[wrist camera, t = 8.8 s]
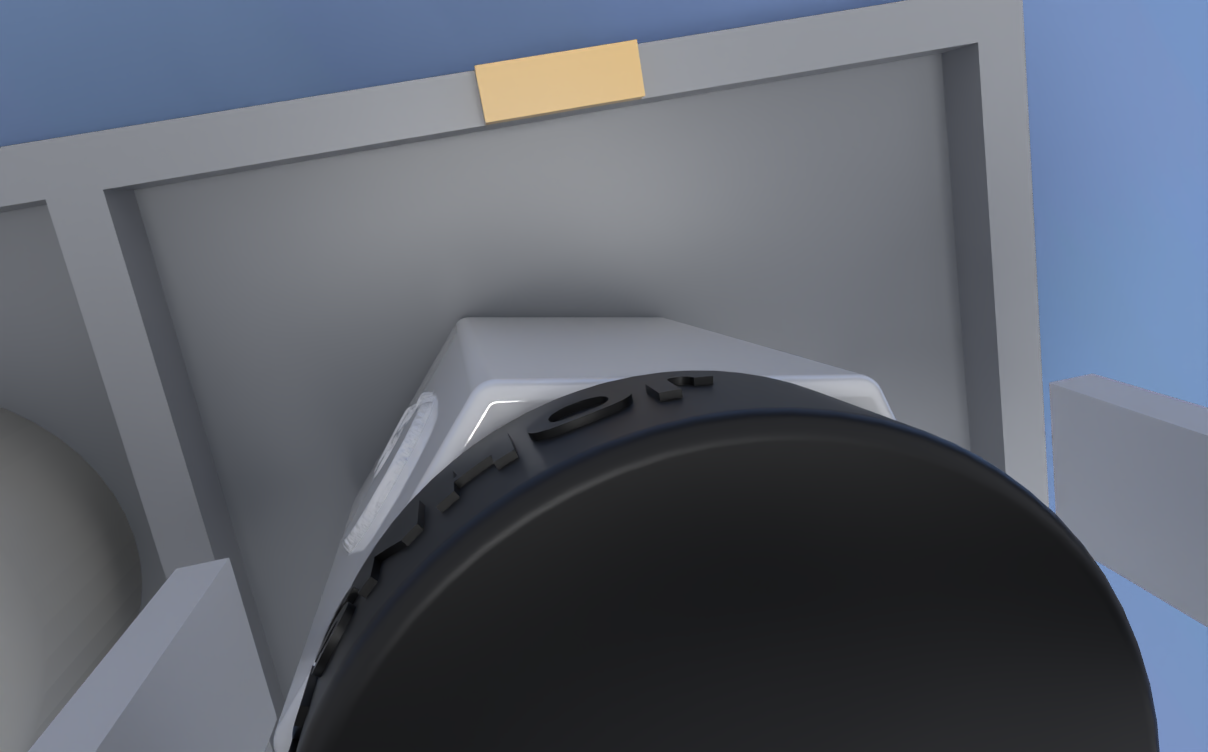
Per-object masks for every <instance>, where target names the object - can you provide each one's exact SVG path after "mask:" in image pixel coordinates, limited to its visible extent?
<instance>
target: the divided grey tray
mask: <svg viewBox="0 0 1208 752" xmlns="http://www.w3.org/2000/svg"><path fill="white" fill-rule="evenodd" d="M466 317H664V318H668V319H672V320H675V321H679V322H682V323H686V324H689V325H693V326H696V327H700V328H703V329H707V330H710V331H714V332H717V333H721V334H724V335H728V336H731V337H735V338H738V339H742V340H745V341H749V342H752V343H756V344H759V345H763V346H766V347H770V348H773V349H777V350H780V351H784V352H787V353H791V354H794V355H798V356H801V357H805V358H808V359H812V360H815V361H819V362H822V363H826V364H829V365H833V366H836V367H839V368H843V369H846V370H850V371H853V372H857V373H860V374H864V375H867V376H869V377H871V378H872V379H873V380H874V381H876V382H877V383H878V384H879V386H880V387H881V389H882V391H883V393H884V395H885V397H886V399H887V401H888V404H889V406H890V408H891V410H892V412H893V414H894V416H895V418H896V420H897V421H899V422H902V423H904V424H907V425H910V426H913V427H915V428H918V429H921V430H923V431H926V432H928V433H931V434H933V435H936V436H938V437H940V438H943V439H945V440H948V441H950V442H952V443H955V444H956V445H958V446H960V447H962V448H964V449H966V450H968V451H970V452H972V453H974V454H976V455H978V456H980V457H981V458H983V459H984V460H986V461H988V462H989V463H991V464H992V465H994V466H996V467H997V468H999V469H1000V470H1002V471H1003V472H1005V473H1006V474H1008V475H1009V476H1010V477H1012V478H1013V479H1014V480H1016V481H1017V482H1018V483H1020V484H1021V485H1022V486H1024V487H1025V488H1026V489H1028V490H1029V491H1030V492H1031V493H1033V494H1034V495H1035V496H1036V497H1037V498H1038V499H1039V500H1040V501H1041V502H1043V503H1044V504H1045V505H1046V506H1047V507H1048V508H1049V500H1048V481H1047V461H1046V442H1045V423H1044V404H1043V385H1042V365H1041V346H1040V327H1039V308H1038V289H1037V270H1036V250H1035V231H1034V212H1033V193H1032V174H1031V155H1030V135H1029V116H1028V97H1027V78H1026V59H1025V39H1024V20H1023V1H1022V0H906V1H900V2H894V3H887V4H881V5H875V6H869V7H863V8H857V9H850V10H844V11H838V12H832V13H826V14H819V15H813V16H807V17H801V18H795V19H789V20H782V21H776V22H770V23H764V24H758V25H751V26H745V27H739V28H733V29H727V30H721V31H714V32H708V33H702V34H696V35H690V36H683V37H677V38H671V39H665V40H659V41H653V42H646V43H640V44H637V39H636V40H630V41H624V42H618V43H612V44H605V45H599V46H593V47H587V48H581V49H574V50H568V51H562V52H556V53H550V54H543V55H537V56H531V57H525V58H518V59H512V60H506V61H500V62H494V63H487V64H481V65H475V70H473V71H467V72H461V73H455V74H448V75H442V76H436V77H430V78H424V79H418V80H411V81H405V82H399V83H393V84H387V85H380V86H374V87H368V88H362V89H356V90H350V91H343V92H337V93H331V94H325V95H319V96H312V97H306V98H300V99H294V100H288V101H282V102H275V103H269V104H263V105H257V106H251V107H244V108H238V109H232V110H226V111H220V112H214V113H207V114H201V115H195V116H189V117H183V118H176V119H170V120H164V121H158V122H152V123H146V124H139V125H133V126H127V127H121V128H115V129H108V130H102V131H96V132H90V133H84V134H78V135H71V136H65V137H59V138H53V139H47V140H40V141H34V142H28V143H22V144H16V145H10V146H3V147H0V408H3V409H6V410H8V411H11V412H13V413H15V414H17V415H19V416H21V417H23V418H25V419H27V420H30V421H32V422H34V423H36V424H37V425H39V426H40V427H42V428H44V429H45V430H47V431H48V432H50V433H52V434H53V435H55V436H56V437H58V438H59V439H61V440H62V441H63V442H64V443H66V444H67V445H68V446H69V447H71V448H72V449H73V450H74V451H76V452H77V453H78V454H79V455H80V456H81V457H82V458H83V459H84V460H85V461H86V462H87V463H88V464H89V465H90V466H91V467H92V468H93V469H94V470H95V471H96V472H97V473H98V474H99V476H100V477H101V478H102V480H103V481H104V482H105V483H106V485H107V486H108V487H109V489H110V490H111V491H112V493H113V494H114V496H115V498H116V499H117V501H118V503H119V505H120V506H121V508H122V510H123V512H124V513H125V515H126V518H127V520H128V523H129V525H130V528H131V530H132V532H133V535H134V538H135V542H136V546H137V550H138V554H139V558H140V567H141V577H142V590H141V605H140V610H139V614H140V613H141V611H142V610H143V609H144V608H145V606H146V605H147V604H148V603H149V602H150V600H151V599H152V598H153V597H154V595H155V594H156V593H157V592H158V590H159V589H160V588H161V587H162V585H163V584H164V583H165V582H166V581H167V579H168V578H169V577H170V576H171V574H172V573H173V572H174V571H175V569H178V568H182V567H187V566H192V565H196V564H201V563H206V562H210V561H215V560H220V559H224V558H229V559H230V562H231V565H232V569H233V572H234V575H235V579H236V582H237V586H238V589H239V592H240V596H241V599H242V602H243V606H244V609H245V612H246V616H247V619H248V622H249V626H250V629H251V633H252V636H253V639H254V643H255V646H256V649H257V653H258V656H259V659H260V663H261V666H262V669H263V673H264V676H265V680H266V683H267V686H268V690H269V693H270V696H271V700H272V703H273V706H274V710H275V713H276V716H277V721H276V723H275V726H274V729H273V731H272V734H271V736H270V739H269V742H268V744H267V747H266V749H265V752H275V751H274V744H273V740H274V734H275V730H276V728H277V725H278V722H279V719H280V716H281V713H282V710H283V707H284V704H285V701H286V698H287V696H288V693H289V690H290V687H291V684H292V681H293V678H294V675H295V672H296V669H297V666H298V663H299V661H300V658H301V655H302V652H303V649H304V646H305V643H306V640H307V637H308V634H309V631H310V628H311V626H312V623H313V620H314V617H315V614H316V611H317V608H318V605H319V602H320V599H321V596H322V593H323V591H324V588H325V585H326V582H327V579H328V576H329V573H330V570H331V567H332V564H333V561H334V558H335V556H336V553H337V550H338V547H339V544H340V541H341V538H342V535H343V532H344V529H345V526H346V523H347V521H348V518H349V515H350V512H351V509H352V506H353V503H354V500H355V498H356V496H357V494H358V492H359V491H360V489H361V487H362V485H363V484H364V482H365V480H366V479H367V477H368V475H369V473H370V472H371V470H372V468H373V466H374V465H375V463H376V461H377V459H378V458H379V456H380V454H381V453H382V451H383V449H384V447H385V446H386V444H387V442H388V440H389V439H390V437H391V435H392V433H393V432H394V430H395V428H396V426H397V424H398V423H399V421H400V419H401V417H402V416H403V414H404V412H405V411H406V409H407V407H408V406H409V404H410V402H411V401H412V399H413V397H414V395H415V394H416V392H417V390H418V388H419V387H420V385H421V383H422V381H423V380H424V378H425V376H426V374H427V373H428V371H429V369H430V368H431V366H432V364H433V362H434V361H435V359H436V357H437V355H438V354H439V352H440V350H441V348H442V347H443V345H444V343H445V342H446V340H447V338H448V336H449V335H450V333H451V331H452V329H453V328H454V326H455V324H456V323H457V322H458V321H459V320H460V319H463V318H466Z"/></svg>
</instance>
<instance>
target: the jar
mask: <svg viewBox="0 0 1208 752" xmlns="http://www.w3.org/2000/svg"><path fill="white" fill-rule="evenodd" d="M273 744H274V751H275V752H1160V751H1159V740H1158V728H1157V719H1156V714H1155V708H1154V703H1153V698H1152V692H1151V687H1150V683H1149V679H1148V676H1147V673H1146V669H1145V666H1144V663H1143V659H1142V656H1141V652H1140V649H1139V646H1138V643H1137V641H1136V638H1135V636H1134V633H1133V631H1132V629H1131V626H1130V624H1129V621H1128V619H1127V617H1126V614H1125V612H1124V609H1123V607H1122V605H1121V604H1120V602H1119V600H1118V598H1117V596H1116V595H1115V593H1114V591H1113V589H1112V587H1111V586H1110V584H1109V582H1108V580H1107V578H1106V576H1105V575H1104V573H1103V572H1102V571H1101V569H1100V568H1099V566H1098V565H1097V563H1096V562H1095V561H1094V559H1093V558H1092V556H1091V555H1090V554H1089V552H1088V551H1087V549H1086V548H1085V546H1084V545H1083V544H1082V543H1081V542H1080V540H1079V539H1078V538H1077V537H1076V536H1075V535H1074V534H1073V533H1072V531H1071V530H1070V529H1069V528H1068V527H1067V526H1066V525H1065V524H1064V522H1063V521H1062V520H1061V519H1060V518H1059V517H1058V516H1057V515H1056V514H1055V513H1054V512H1053V511H1052V510H1050V509H1049V508H1048V507H1047V506H1046V505H1045V504H1044V503H1043V502H1041V501H1040V500H1039V499H1038V498H1037V497H1036V496H1035V495H1034V494H1033V493H1031V492H1030V491H1029V490H1028V489H1026V488H1025V487H1024V486H1022V485H1021V484H1020V483H1018V482H1017V481H1016V480H1014V479H1013V478H1012V477H1010V476H1009V475H1008V474H1006V473H1005V472H1003V471H1002V470H1000V469H999V468H997V467H996V466H994V465H992V464H991V463H989V462H988V461H986V460H984V459H983V458H981V457H980V456H978V455H976V454H974V453H972V452H970V451H968V450H966V449H964V448H962V447H960V446H958V445H956V444H955V443H952V442H950V441H948V440H945V439H943V438H940V437H938V436H936V435H933V434H931V433H928V432H926V431H923V430H921V429H918V428H915V427H913V426H910V425H907V424H904V423H902V422H899V421H897V420H896V418H895V416H894V414H893V412H892V410H891V408H890V406H889V404H888V401H887V399H886V397H885V395H884V393H883V391H882V389H881V387H880V386H879V384H878V383H877V382H876V381H874V380H873V379H872V378H871V377H869V376H867V375H864V374H860V373H857V372H853V371H850V370H846V369H843V368H839V367H836V366H833V365H829V364H826V363H822V362H819V361H815V360H812V359H808V358H805V357H801V356H798V355H794V354H791V353H787V352H784V351H780V350H777V349H773V348H770V347H766V346H763V345H759V344H756V343H752V342H749V341H745V340H742V339H738V338H735V337H731V336H728V335H724V334H721V333H717V332H714V331H710V330H707V329H703V328H700V327H696V326H693V325H689V324H686V323H682V322H679V321H675V320H672V319H668V318H664V317H466V318H463V319H460V320H459V321H458V322H457V323H456V324H455V326H454V328H453V329H452V331H451V333H450V335H449V336H448V338H447V340H446V342H445V343H444V345H443V347H442V348H441V350H440V352H439V354H438V355H437V357H436V359H435V361H434V362H433V364H432V366H431V368H430V369H429V371H428V373H427V374H426V376H425V378H424V380H423V381H422V383H421V385H420V387H419V388H418V390H417V392H416V394H415V395H414V397H413V399H412V401H411V402H410V404H409V406H408V407H407V409H406V411H405V412H404V414H403V416H402V417H401V419H400V421H399V423H398V424H397V426H396V428H395V430H394V432H393V433H392V435H391V437H390V439H389V440H388V442H387V444H386V446H385V447H384V449H383V451H382V453H381V454H380V456H379V458H378V459H377V461H376V463H375V465H374V466H373V468H372V470H371V472H370V473H369V475H368V477H367V479H366V480H365V482H364V484H363V485H362V487H361V489H360V491H359V492H358V494H357V496H356V498H355V500H354V503H353V506H352V509H351V512H350V515H349V518H348V521H347V523H346V526H345V529H344V532H343V535H342V538H341V541H340V544H339V547H338V550H337V553H336V556H335V558H334V561H333V564H332V567H331V570H330V573H329V576H328V579H327V582H326V585H325V588H324V591H323V593H322V596H321V599H320V602H319V605H318V608H317V611H316V614H315V617H314V620H313V623H312V626H311V628H310V631H309V634H308V637H307V640H306V643H305V646H304V649H303V652H302V655H301V658H300V661H299V663H298V666H297V669H296V672H295V675H294V678H293V681H292V684H291V687H290V690H289V693H288V696H287V698H286V701H285V704H284V707H283V710H282V713H281V716H280V719H279V722H278V725H277V728H276V730H275V734H274V740H273Z"/></svg>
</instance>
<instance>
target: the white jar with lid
mask: <svg viewBox="0 0 1208 752" xmlns="http://www.w3.org/2000/svg"><path fill="white" fill-rule="evenodd" d="M141 590H142V577H141V567H140V558H139V554H138V550H137V546H136V542H135V538H134V535H133V532H132V530H131V528H130V525H129V523H128V520H127V518H126V515H125V513H124V512H123V510H122V508H121V506H120V505H119V503H118V501H117V499H116V498H115V496H114V494H113V493H112V491H111V490H110V489H109V487H108V486H107V485H106V483H105V482H104V481H103V480H102V478H101V477H100V476H99V474H98V473H97V472H96V471H95V470H94V469H93V468H92V467H91V466H90V465H89V464H88V463H87V462H86V461H85V460H84V459H83V458H82V457H81V456H80V455H79V454H78V453H77V452H76V451H74V450H73V449H72V448H71V447H69V446H68V445H67V444H66V443H64V442H63V441H62V440H61V439H59V438H58V437H56V436H55V435H53V434H52V433H50V432H48V431H47V430H45V429H44V428H42V427H40V426H39V425H37V424H36V423H34V422H32V421H30V420H27V419H25V418H23V417H21V416H19V415H17V414H15V413H13V412H11V411H8V410H6V409H3V408H0V752H28V751H29V750H30V748H31V747H32V746H33V745H34V743H35V742H36V741H37V740H38V738H39V737H40V736H41V735H42V734H43V732H44V731H45V730H46V729H47V727H48V726H49V725H50V724H51V722H52V721H53V720H54V719H55V717H56V716H57V715H58V714H59V713H60V711H61V710H62V709H63V708H64V706H65V705H66V704H67V703H68V701H69V700H70V699H71V698H72V697H73V695H74V694H75V693H76V692H77V690H78V689H79V688H80V687H81V685H82V684H83V683H84V682H85V680H86V679H87V678H88V677H89V676H90V674H91V673H92V672H93V671H94V669H95V668H96V667H97V666H98V664H99V663H100V662H101V661H102V659H103V658H104V657H105V656H106V655H107V653H108V652H109V651H110V650H111V648H112V647H113V646H114V645H115V643H116V642H117V641H118V640H119V639H120V637H121V636H122V635H123V634H124V632H125V631H126V630H127V629H128V627H129V626H130V625H131V624H132V622H133V621H134V620H135V619H136V618H137V616H138V615H139V610H140V605H141Z"/></svg>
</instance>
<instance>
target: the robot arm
mask: <svg viewBox="0 0 1208 752" xmlns="http://www.w3.org/2000/svg"><path fill="white" fill-rule="evenodd" d="M1049 387H1050V407H1051V427H1052V447H1053V466H1054V486H1055V506H1056V515H1057V516H1058V517H1059V518H1060V519H1061V520H1062V521H1063V522H1064V524H1065V525H1066V526H1067V527H1068V528H1069V529H1070V530H1071V531H1072V533H1073V534H1074V535H1075V536H1076V537H1077V538H1078V539H1079V540H1080V542H1081V543H1082V544H1083V545H1084V546H1085V548H1086V549H1087V551H1088V552H1089V554H1090V555H1091V556H1092V558H1093V559H1094V560H1096V561H1097V562H1099V563H1101V564H1102V565H1104V566H1106V567H1107V568H1109V569H1111V570H1112V571H1114V572H1116V573H1117V574H1119V575H1121V576H1123V577H1124V578H1126V579H1128V580H1129V581H1131V582H1133V583H1134V584H1136V585H1138V586H1139V587H1141V588H1143V589H1144V590H1146V591H1148V592H1149V593H1151V594H1153V595H1154V596H1156V597H1158V598H1159V599H1161V600H1163V601H1164V602H1166V603H1168V604H1169V605H1171V606H1173V607H1174V608H1176V609H1178V610H1179V611H1181V612H1183V613H1184V614H1186V615H1188V616H1189V617H1191V618H1193V619H1194V620H1196V621H1198V622H1199V623H1201V624H1203V625H1204V626H1206V627H1208V408H1207V407H1204V406H1200V405H1197V404H1194V403H1190V402H1187V401H1183V400H1180V399H1177V398H1173V397H1170V396H1167V395H1163V394H1160V393H1156V392H1153V391H1150V390H1146V389H1143V388H1139V387H1136V386H1133V385H1129V384H1126V383H1123V382H1119V381H1116V380H1112V379H1109V378H1106V377H1102V376H1099V375H1095V374H1088V375H1084V376H1079V377H1074V378H1069V379H1065V380H1060V381H1055V382H1051V383H1049ZM276 721H277V716H276V713H275V710H274V706H273V703H272V700H271V696H270V693H269V690H268V686H267V683H266V680H265V676H264V673H263V669H262V666H261V663H260V659H259V656H258V653H257V649H256V646H255V643H254V639H253V636H252V633H251V629H250V626H249V622H248V619H247V616H246V612H245V609H244V606H243V602H242V599H241V596H240V592H239V589H238V586H237V582H236V579H235V575H234V572H233V569H232V565H231V562H230V559H229V558H224V559H220V560H215V561H210V562H206V563H201V564H196V565H192V566H187V567H182V568H178V569H175V571H174V572H173V573H172V574H171V576H170V577H169V578H168V579H167V581H166V582H165V583H164V584H163V585H162V587H161V588H160V589H159V590H158V592H157V593H156V594H155V595H154V597H153V598H152V599H151V600H150V602H149V603H148V604H147V605H146V606H145V608H144V609H143V610H142V611H141V613H140V614H139V615H138V616H137V618H136V619H135V620H134V621H133V622H132V624H131V625H130V626H129V627H128V629H127V630H126V631H125V632H124V634H123V635H122V636H121V637H120V639H119V640H118V641H117V642H116V643H115V645H114V646H113V647H112V648H111V650H110V651H109V652H108V653H107V655H106V656H105V657H104V658H103V659H102V661H101V662H100V663H99V664H98V666H97V667H96V668H95V669H94V671H93V672H92V673H91V674H90V676H89V677H88V678H87V679H86V680H85V682H84V683H83V684H82V685H81V687H80V688H79V689H78V690H77V692H76V693H75V694H74V695H73V697H72V698H71V699H70V700H69V701H68V703H67V704H66V705H65V706H64V708H63V709H62V710H61V711H60V713H59V714H58V715H57V716H56V717H55V719H54V720H53V721H52V722H51V724H50V725H49V726H48V727H47V729H46V730H45V731H44V732H43V734H42V735H41V736H40V737H39V738H38V740H37V741H36V742H35V743H34V745H33V746H32V747H31V748H30V750H29V751H28V752H265V749H266V747H267V744H268V742H269V739H270V736H271V734H272V731H273V729H274V726H275V723H276Z"/></svg>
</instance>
